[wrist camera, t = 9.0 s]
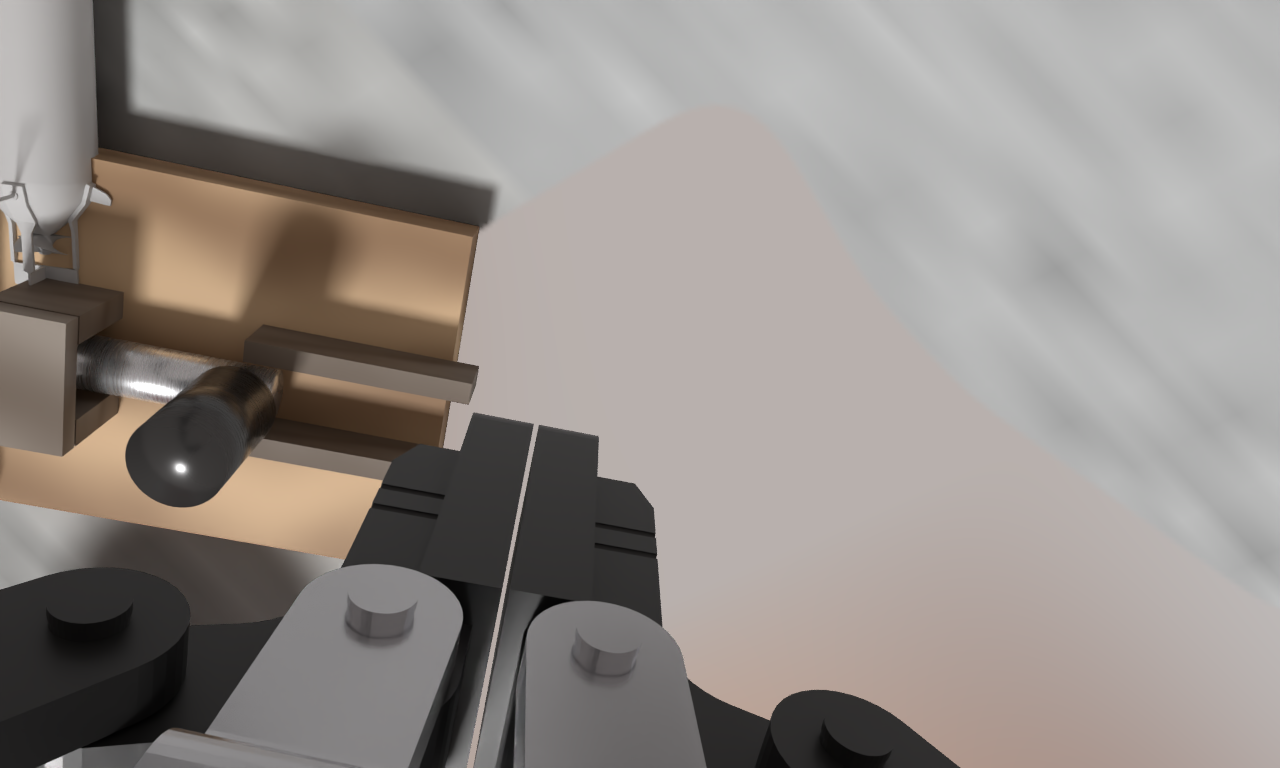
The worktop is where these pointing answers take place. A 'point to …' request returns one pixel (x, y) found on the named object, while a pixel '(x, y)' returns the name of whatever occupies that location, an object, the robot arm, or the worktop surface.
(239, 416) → the bolt
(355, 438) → the lock plate
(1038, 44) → the worktop surface
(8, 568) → the worktop surface
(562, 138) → the worktop surface
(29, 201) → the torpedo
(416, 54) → the worktop surface
